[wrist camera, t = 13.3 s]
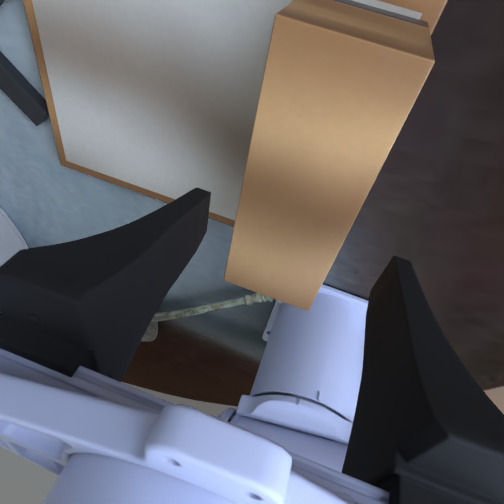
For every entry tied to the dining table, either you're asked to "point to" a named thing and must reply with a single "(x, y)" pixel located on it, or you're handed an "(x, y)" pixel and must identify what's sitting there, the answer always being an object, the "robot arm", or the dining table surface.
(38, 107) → the black angular block
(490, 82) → the dining table surface
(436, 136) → the dining table surface
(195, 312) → the grey slim stick
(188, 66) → the whiteboard
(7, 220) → the kettle
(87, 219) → the dining table surface
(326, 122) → the eraser
